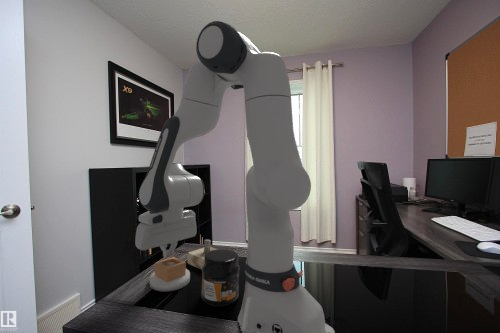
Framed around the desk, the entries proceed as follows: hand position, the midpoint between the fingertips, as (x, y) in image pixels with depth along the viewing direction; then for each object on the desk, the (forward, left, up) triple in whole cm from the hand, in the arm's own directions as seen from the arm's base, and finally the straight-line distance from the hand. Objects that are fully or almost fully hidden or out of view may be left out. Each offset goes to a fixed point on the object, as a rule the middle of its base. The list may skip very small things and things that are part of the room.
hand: (168, 256), depth 76 cm
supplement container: (-20, -3, -7) cm, 22 cm away
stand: (0, -16, -7) cm, 18 cm away
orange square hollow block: (-2, +1, -5) cm, 6 cm away
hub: (-2, +1, -7) cm, 7 cm away
